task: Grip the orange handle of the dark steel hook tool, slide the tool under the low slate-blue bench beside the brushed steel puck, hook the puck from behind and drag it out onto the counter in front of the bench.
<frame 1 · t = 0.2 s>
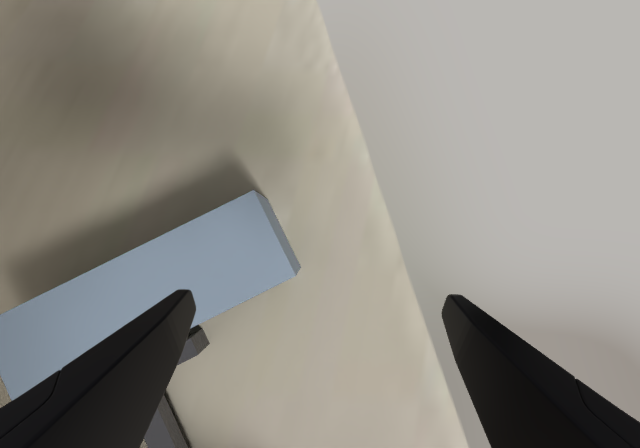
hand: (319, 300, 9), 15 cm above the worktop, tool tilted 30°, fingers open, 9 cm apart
bench: (176, 286, 24), on the worktop
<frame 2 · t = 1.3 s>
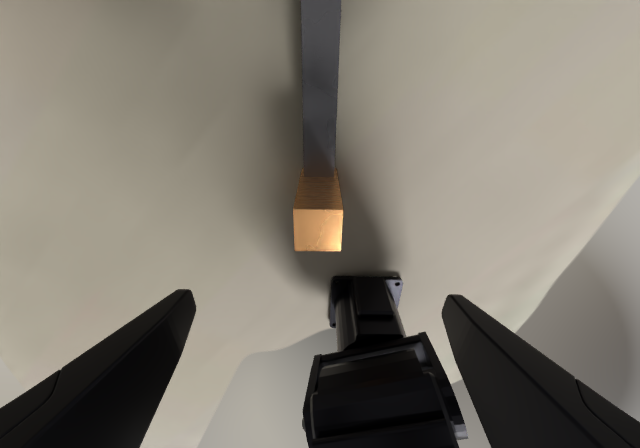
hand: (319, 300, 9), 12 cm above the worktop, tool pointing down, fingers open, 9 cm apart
hook tool: (319, 184, 20), on the worktop
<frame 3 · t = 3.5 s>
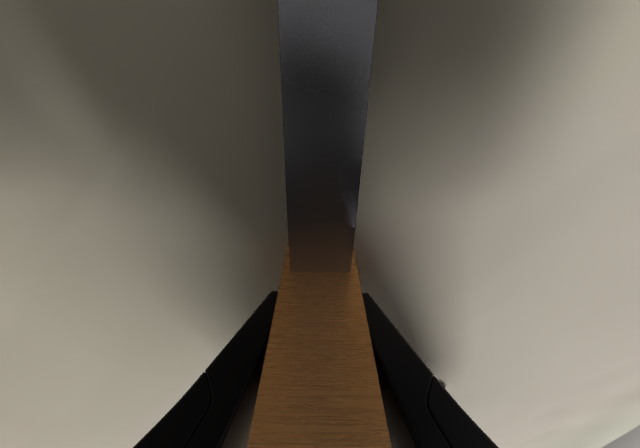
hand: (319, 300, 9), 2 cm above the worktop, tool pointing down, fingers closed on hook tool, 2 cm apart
hook tool: (319, 264, 11), on the worktop, touching gripper
when the fingers open (2 cm above the worktop, at t = 10.4 s): hook tool stays where it is, on the worktop.
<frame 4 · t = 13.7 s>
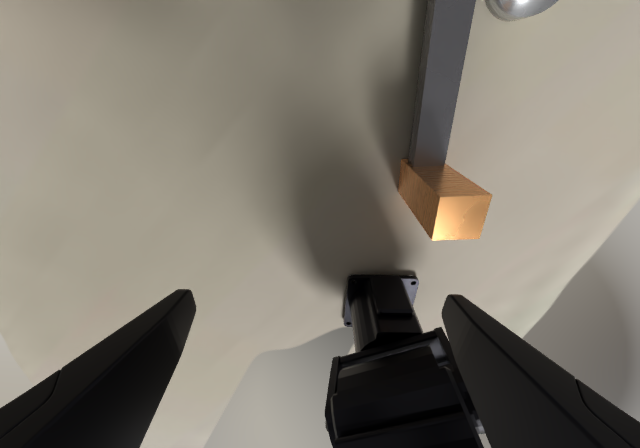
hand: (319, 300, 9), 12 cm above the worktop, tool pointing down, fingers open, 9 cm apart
hook tool: (416, 175, 19), on the worktop
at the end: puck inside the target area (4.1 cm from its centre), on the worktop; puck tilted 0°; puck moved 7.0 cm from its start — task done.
